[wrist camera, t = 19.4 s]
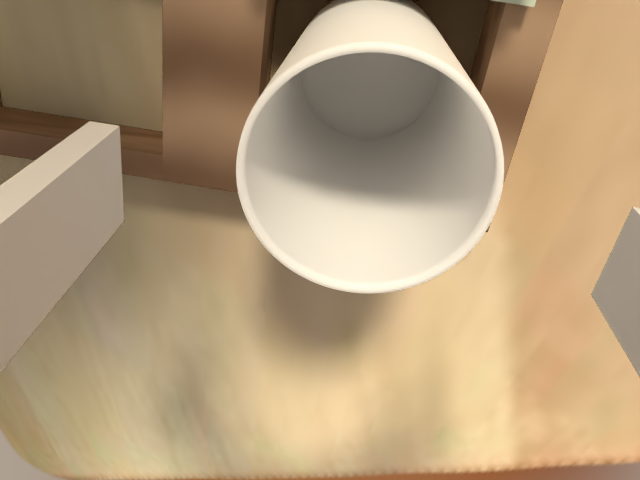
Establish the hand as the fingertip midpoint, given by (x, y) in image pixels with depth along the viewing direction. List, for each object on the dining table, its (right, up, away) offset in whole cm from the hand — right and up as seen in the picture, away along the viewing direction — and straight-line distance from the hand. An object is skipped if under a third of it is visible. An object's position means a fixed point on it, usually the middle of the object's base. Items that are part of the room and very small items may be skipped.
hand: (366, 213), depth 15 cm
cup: (+2, +9, +17) cm, 19 cm away
